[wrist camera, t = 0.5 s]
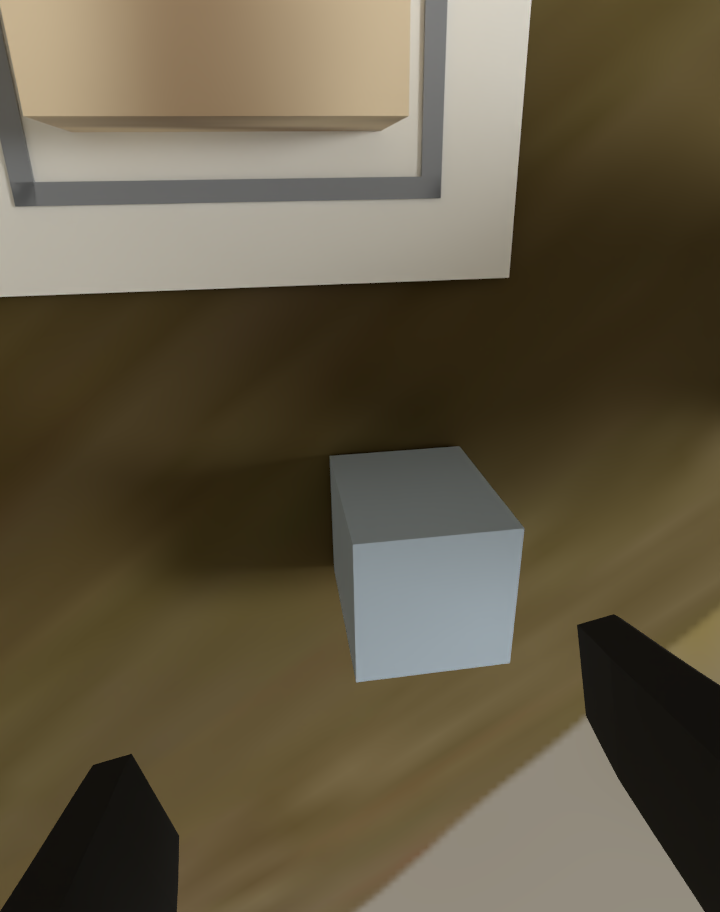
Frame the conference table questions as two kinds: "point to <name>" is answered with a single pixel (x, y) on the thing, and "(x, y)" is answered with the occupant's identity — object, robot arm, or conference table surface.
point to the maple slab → (211, 64)
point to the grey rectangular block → (423, 562)
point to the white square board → (281, 184)
